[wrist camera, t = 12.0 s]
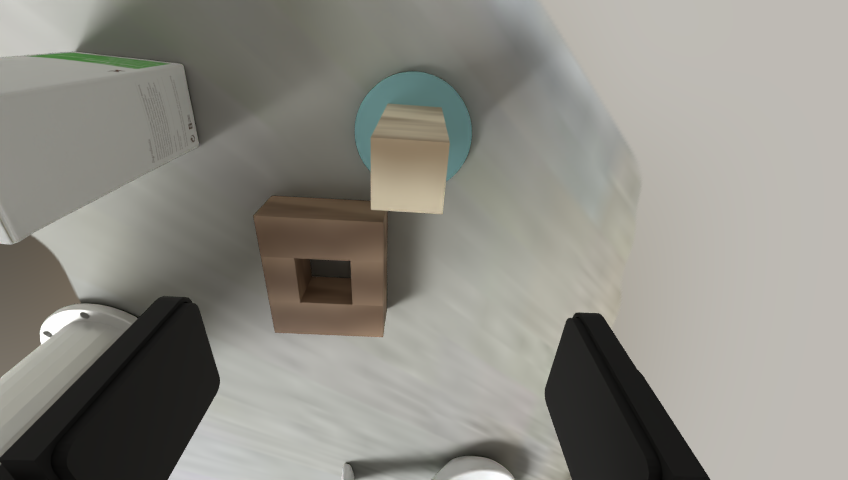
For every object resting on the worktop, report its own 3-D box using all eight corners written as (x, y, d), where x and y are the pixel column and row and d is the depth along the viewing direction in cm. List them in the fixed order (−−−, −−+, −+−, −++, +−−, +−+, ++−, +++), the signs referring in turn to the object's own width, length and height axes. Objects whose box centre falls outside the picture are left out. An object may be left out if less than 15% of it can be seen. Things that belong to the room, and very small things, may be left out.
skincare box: (187, 63, 27) (-51, 96, 13) (203, 152, 30) (24, 251, 17) (67, 49, 27) (-306, 68, 13) (96, 141, 30) (-178, 233, 16)
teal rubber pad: (464, 189, 32) (465, 194, 31) (358, 184, 32) (356, 188, 31) (477, 75, 27) (479, 76, 27) (354, 67, 27) (352, 68, 26)
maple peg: (437, 159, 29) (442, 214, 21) (386, 156, 29) (370, 209, 21) (441, 107, 28) (449, 142, 19) (387, 103, 27) (370, 137, 19)
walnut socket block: (386, 309, 38) (383, 337, 35) (288, 304, 38) (275, 332, 34) (387, 201, 32) (383, 222, 29) (271, 195, 32) (253, 215, 29)
